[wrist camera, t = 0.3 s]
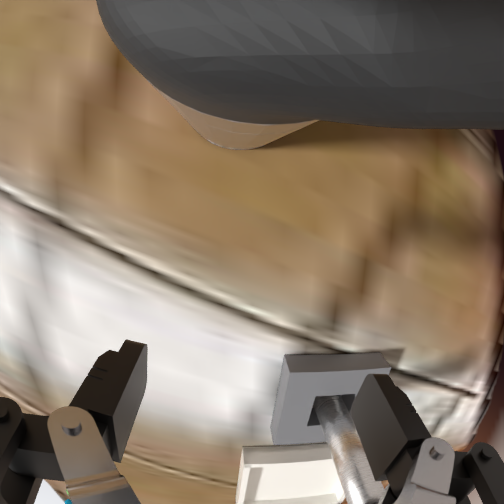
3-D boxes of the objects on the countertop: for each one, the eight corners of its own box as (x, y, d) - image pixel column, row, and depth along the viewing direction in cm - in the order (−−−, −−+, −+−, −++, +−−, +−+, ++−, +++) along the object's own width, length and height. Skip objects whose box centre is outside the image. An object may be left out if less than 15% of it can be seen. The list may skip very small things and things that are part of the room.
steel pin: (308, 378, 32) (361, 522, 14) (348, 376, 32) (416, 505, 15) (300, 408, 33) (340, 544, 16) (338, 406, 33) (391, 530, 16)
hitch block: (284, 354, 31) (289, 372, 28) (380, 352, 32) (391, 367, 29) (270, 427, 33) (273, 445, 31) (354, 421, 35) (361, 437, 32)
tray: (242, 446, 34) (244, 464, 31) (365, 437, 36) (372, 452, 33) (235, 498, 38) (236, 512, 35) (336, 490, 40) (341, 503, 37)
